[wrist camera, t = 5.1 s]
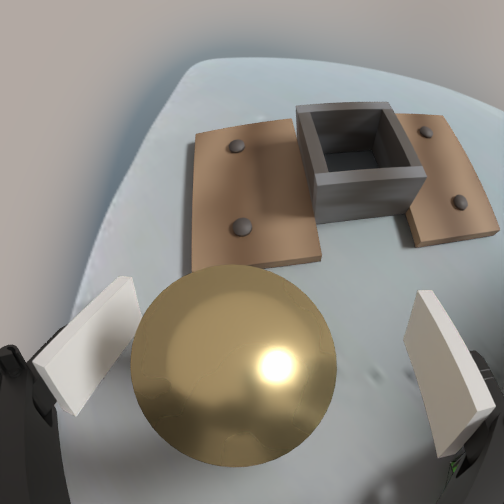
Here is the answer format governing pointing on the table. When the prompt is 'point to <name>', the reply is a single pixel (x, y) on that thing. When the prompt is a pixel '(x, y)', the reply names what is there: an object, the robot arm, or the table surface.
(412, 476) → the table surface
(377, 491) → the table surface
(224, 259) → the brown flat wooden board
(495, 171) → the table surface
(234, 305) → the gold knob
